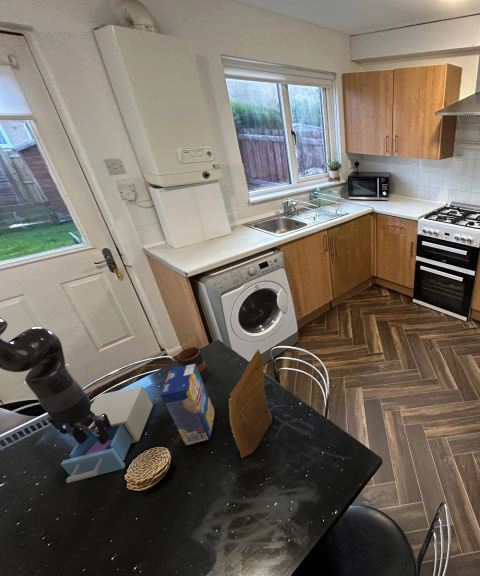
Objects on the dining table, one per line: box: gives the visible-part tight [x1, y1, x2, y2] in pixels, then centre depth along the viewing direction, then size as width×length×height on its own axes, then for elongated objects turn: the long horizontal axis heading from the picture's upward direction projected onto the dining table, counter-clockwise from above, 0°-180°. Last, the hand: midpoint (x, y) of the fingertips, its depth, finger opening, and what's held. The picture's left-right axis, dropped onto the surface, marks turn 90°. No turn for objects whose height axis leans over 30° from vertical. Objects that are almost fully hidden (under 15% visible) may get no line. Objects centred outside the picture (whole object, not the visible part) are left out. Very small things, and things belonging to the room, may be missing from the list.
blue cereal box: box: [159, 363, 216, 446], centre depth 95 cm, size 7×11×22 cm, turn 19°
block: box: [86, 440, 112, 455], centre depth 89 cm, size 4×4×4 cm
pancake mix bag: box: [228, 348, 273, 459], centre depth 92 cm, size 7×19×28 cm, turn 169°
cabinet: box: [80, 385, 154, 444], centre depth 98 cm, size 15×13×10 cm
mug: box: [174, 346, 210, 382], centre depth 116 cm, size 9×12×12 cm
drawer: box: [60, 424, 133, 484], centre depth 88 cm, size 18×11×8 cm, turn 18°
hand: (94, 441), depth 87 cm, fingers open, 5 cm apart
